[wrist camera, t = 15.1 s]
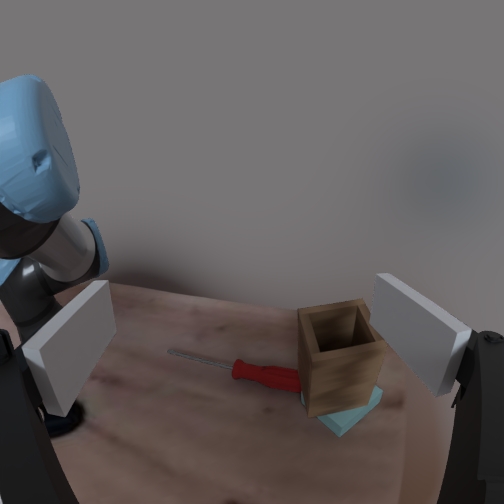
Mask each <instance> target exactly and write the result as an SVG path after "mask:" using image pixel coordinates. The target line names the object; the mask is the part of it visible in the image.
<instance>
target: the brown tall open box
mask: <svg viewBox="0 0 504 504" xmlns="http://www.w3.org/2000/svg"><path fill="white" fill-rule="evenodd" d="M370 315H371V313H370V312H369V310H368V308H367V306H366V304H365V302H364V300H363V299H357V300H351V301H345V302H339V303H333V304H327V305H320V306H314V307H307V308H301V309H298V375H299V379H300V384H301V388H302V393H303V397H304V402H305V407H306V411H307V416H308V418H312V417H318V416H323V415H328V414H333V413H337V412H342V411H346V410H351V409H355V408H359V407H363V406H367V405H368V403H369V400H370V398H371V395H372V392H373V389H374V387H375V384H376V381H377V378H378V375H379V372H380V369H381V366H382V363H383V360H384V357H385V353H386V350H387V347H388V346H387V344H386V342H385V340H384V339H383V338H382V337H381V335H380V334H379V333H378V332H377V331H376V330H375V329H374V328H373V327H372V326H371V325H370V324H369V321H370Z"/></svg>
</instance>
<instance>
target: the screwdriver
mask: <svg viewBox="0 0 504 504" xmlns="http://www.w3.org/2000/svg"><path fill="white" fill-rule="evenodd" d="M167 352H168V353H170V354H175V355H178V356H182V357H185V358H189V359H192V360H196V361H200V362H204V363H207V364H211V365H215V366H219V367H223V368H227V369H232V377H233V378H234V379H239V378H244V379H249V380H253V381H257V382H259V383H261V384H263V385H266V386H268V387H271V388H276V389H281V390H287V391H292V392H298V393H301V391H302V388H301V384H300V379H299V375H298V370H294V369H288V368H282V367H277V366H256V365H251V364H246V363H244V362H243V361H242V360H240V359H237V360H236V361H235V363H234V365H233V366H228V365H224V364H220V363H216V362H212V361H208V360H204V359H200V358H196V357H193V356H189V355H185V354H182V353H178V352H175V351H174V350H168V351H167Z"/></svg>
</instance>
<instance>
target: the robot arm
mask: <svg viewBox="0 0 504 504" xmlns="http://www.w3.org/2000/svg"><path fill="white" fill-rule="evenodd" d="M79 190H80V186H79V179H78V174H77V168H76V164H75V160H74V156H73V153H72V148H71V145H70V142H69V138H68V135H67V132H66V130H65V127H64V125H63V123H62V117H61V114H60V111H59V108H58V106H57V103H56V101H55V99H54V97H53V95H52V93H51V90H50V89H49V87H48V86H47V84H46V83H45V82H44V81H43V80H42V79H40V78H39V77H37V76H35V75H22V76H19V77H16V78H13V79H10V80H7V81H5V82H2V83H0V300H1V302H2V303H3V305H4V307H5V309H6V310H7V312H8V314H9V315H10V317H11V319H12V320H13V322H14V324H15V325H16V327H17V330H18V334H19V337H20V341H21V344H20V345H19V346H18V347H17V348H16V349H15V350H14V347H13V344H12V341H11V338H10V335H9V333H8V331H7V330H4V329H0V496H1V500H2V504H79V502H78V500H77V498H76V497H75V495H74V493H73V491H72V489H71V487H70V485H69V483H68V481H67V478H66V476H65V474H64V472H63V470H62V467H61V465H60V463H59V461H58V458H57V456H56V453H55V451H54V448H53V446H52V443H51V441H50V438H49V435H48V433H47V430H46V427H45V424H44V421H43V418H42V415H41V413H40V411H39V409H38V406H39V405H40V403H41V402H42V401H43V403H44V405H45V408H46V410H47V412H48V413H49V414H54V415H58V416H62V417H66V415H67V413H68V411H69V409H70V408H71V406H72V404H73V402H74V401H75V399H76V397H77V396H78V394H79V392H80V390H81V389H82V387H83V385H84V384H85V382H86V380H87V379H88V377H89V375H90V374H91V372H92V370H93V369H94V367H95V365H96V364H97V362H98V361H99V359H100V357H101V356H102V354H103V353H104V351H105V349H106V348H107V346H108V345H109V343H110V342H111V340H112V338H113V337H114V335H115V334H116V332H117V329H116V324H115V318H114V313H113V307H112V301H111V295H110V288H109V281H108V280H102V281H101V280H95V281H93V282H92V283H91V284H90V285H89V286H88V287H86V288H85V289H84V290H83V291H82V292H81V293H79V294H78V295H77V296H76V297H75V298H74V299H73V300H72V301H70V302H69V303H68V304H67V305H66V306H65V307H64V308H63V307H62V306H61V305H60V304H59V303H58V302H57V301H56V299H55V298H54V296H53V295H55V294H57V293H59V292H62V291H64V290H66V289H69V288H71V287H73V286H76V285H78V284H80V283H83V282H85V281H87V280H90V279H92V278H97V277H99V276H100V275H101V274H103V273H105V272H106V271H107V270H108V267H109V263H108V258H107V255H106V250H105V247H104V244H103V240H102V237H101V235H100V232H99V230H98V227H97V225H96V223H95V221H94V220H93V219H91V218H89V219H83V220H81V221H79V220H76V219H74V218H72V216H71V214H70V212H69V211H70V210H71V209H73V208H74V207H75V205H76V204H77V202H78V200H79ZM369 324H370V325H371V326H372V327H373V328H374V329H375V330H376V331H377V332H378V333H379V334H380V335H381V337H382V338H383V339H384V340H385V341H386V342H387V343H388V344H389V345H390V346H391V347H392V349H393V350H394V351H395V352H396V353H397V354H398V355H399V356H400V357H401V358H402V360H403V361H404V362H405V363H406V364H407V365H408V366H409V367H410V369H411V370H412V371H413V372H414V373H415V374H416V375H417V376H418V378H419V379H420V380H421V381H422V382H423V383H424V384H425V385H426V387H427V388H428V389H429V390H430V391H431V392H432V393H433V395H434V396H435V397H438V396H441V395H444V394H447V393H450V392H451V389H452V387H453V384H454V382H455V379H456V380H457V381H458V382H459V383H460V384H461V385H460V387H459V390H458V392H457V394H456V397H455V399H454V402H453V404H452V406H451V408H454V405H455V404H456V412H455V419H454V427H453V433H452V440H451V445H450V450H449V456H448V461H447V465H446V470H445V474H444V478H443V482H442V486H441V490H440V494H439V498H438V501H437V504H504V337H503V336H502V335H500V334H498V333H496V332H492V331H482V332H480V333H477V332H476V331H474V330H473V329H471V328H470V327H468V326H467V325H466V324H464V323H462V322H461V321H460V320H458V319H456V318H455V317H454V316H453V315H451V314H450V313H448V312H446V311H445V310H443V309H442V308H441V307H439V306H438V305H436V304H435V303H433V302H432V301H430V300H429V299H427V298H426V297H424V296H423V295H421V294H420V293H418V292H417V291H415V290H414V289H412V288H411V287H409V286H407V285H406V284H405V283H403V282H401V281H400V280H398V279H397V278H395V277H393V276H392V275H391V274H389V273H384V274H376V278H375V286H374V294H373V301H372V308H371V315H370V321H369Z"/></svg>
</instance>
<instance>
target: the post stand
mask: <svg viewBox="0 0 504 504" xmlns="http://www.w3.org/2000/svg"><path fill="white" fill-rule="evenodd" d="M382 393H383V390H381V389H380V388H378V387H377V386H376V385H375V387H374V389H373V392H372V395H371V398H370V400H369V403H368V405H367V406H363V407H359V408H355V409H351V410H346V411H342V412H337V413H333V414H328V415H323V416H318V417H317V418H318V419H319V420H321V421H322V422H323V423H324V424H325V425H326V426H327V427H328V428H329V429H331V430H332V431H333V432H334V433H335V434H336V435H337V436H338V437H340V436H342V435H343V434H344V433H345V432H346V431H348V430H349V429H350V428H351V427H352V426H354V425H355V424H356V423H357V422H358V421H359V420H360V419H362V418H363V417H364V416H365V415H366V414H367V413H368V412H369V411H370V410H371V409H373V408H374V407H375V406H376V405H377V404H378V403H379V401H380V399H381V396H382ZM301 403H302V404H303V405H304V406H305V402H304V397H303V393H302V391H301Z"/></svg>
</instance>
